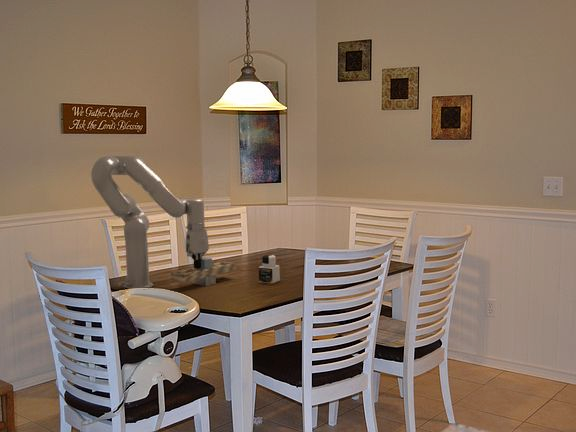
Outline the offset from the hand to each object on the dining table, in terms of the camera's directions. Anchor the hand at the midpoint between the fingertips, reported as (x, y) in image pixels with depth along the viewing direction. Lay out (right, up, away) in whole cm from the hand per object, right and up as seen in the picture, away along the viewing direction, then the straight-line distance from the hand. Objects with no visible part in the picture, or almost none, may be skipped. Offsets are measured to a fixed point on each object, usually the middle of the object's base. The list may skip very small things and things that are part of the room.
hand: (197, 268), depth 314 cm
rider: (+3, -1, +4) cm, 5 cm away
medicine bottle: (+32, -7, +6) cm, 33 cm away
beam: (+3, -3, +4) cm, 6 cm away
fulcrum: (+3, -7, +4) cm, 9 cm away
